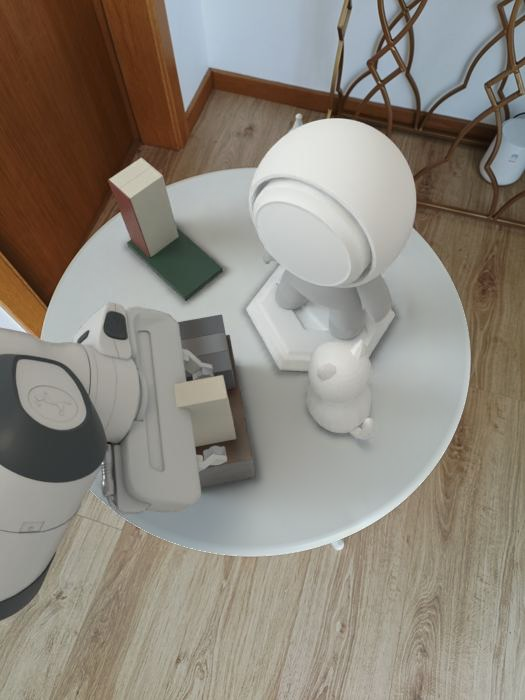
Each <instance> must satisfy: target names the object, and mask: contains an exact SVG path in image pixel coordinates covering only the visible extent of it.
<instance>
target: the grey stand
mask: <svg viewBox="0 0 525 700" xmlns="http://www.w3.org/2000/svg"><path fill="white" fill-rule="evenodd" d="M177 322H178V324H179V329H180V337H181V345H182V349H186V350H189V351H190V352H191V353H192V354H193V355H194V356H196V357H197V358H198V359H199V360H200V361H201V362H202V363H207V364H211V365H212V368H213V375H214V377H215V376H220V375H223V377H224V382H225V386H226V391H227V395H228V399H229V404H230V408H231V413H232V417H233V422H234V428H235V434H236V439H234V440H228V441H223V442H218V443H213V444H208V445H203V446H197V447H195V449H196V455H202V456H203V459H204V455H203V451H204V450H206V449H209V448H210V447H212V446H219V447H222V446H224V447H225V450H226V455H227V461H226V462H224V463H222V464H220V465H209V466H208V467H207V468H205V469H203V470H201V471H199V479H200V486H201V489H203V488H208V487H213V486H218V485H223V484H228V483H233V482H238V481H243V480H248V479H249V480H250V479H253V478H256V471H255V465H254V464H255V463H254V458H253V452H252V447H251V442H250V437H249V431H248V425H247V420H246V415H245V409H244V405H243V404H244V403H243V398H242V393H241V388H240V382H239V377H238V372H237V367H236V361H235V355H234V350H233V346H232V340H231V335H230V334H226V329H225V323H224V317H223V314H216V315H210V316H205V317H199V318H194V319H188V320H182V321H177ZM185 375H186V382H188V381H193V376H192V374H191V373H189V372H188V371H186V370H185Z"/></svg>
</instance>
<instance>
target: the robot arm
mask: <svg viewBox="0 0 525 700" xmlns="http://www.w3.org/2000/svg"><path fill="white" fill-rule="evenodd" d="M178 322H179V321H177V320H176V319H175V318H174V317H173V316H172V315H171V314H169V313H167V312H163V311H160V310H157V309H153V308H149V307H141V306H129V307H127V308H125V307H124V306H122V305H121V304H119V303H116V302H111V301H109V302H106V303H105V304H103V305H102V306H101V307H100V308H98V309H97V310H96V311H95V312H94V313H93V314H92V315H90V317H88V319H87V320H86V321H85V322H84V323H83V324H82V325H81V326H80V328H79V329H78V330H77V331H76V333H75V334H74V337H73V339H72V341H64V342H52V341H47V340H43V339H41V338H39V337H37V336H35V335H33V334H31V333H29V332H26V331H25V332H24V331H22V330H21V331H20V330H15V329H12V328H5V327H1V326H0V622H1V621H3V620H6V619H8V618H10V617H12V616H14V615H15V614H17V613H19V612H20V611H21V610H23V609H24V608H25V607H26V606H27V605H29V604H30V603H31V602H32V601H33V599H34V598H35V597H36V596H37V595H38V593H39V592H40V590H41V588H42V587H43V584H44V582H45V580H46V577H47V575H48V573H49V570H50V568H51V566H52V563H53V561H54V559H55V557H56V554H57V551H58V548H59V546H60V544H61V543H62V541H63V540H64V538H65V536H66V535H67V532H68V530H69V529H70V527H71V525H72V523H73V522H74V520H75V518H76V516H77V515H78V513H79V511H80V509H81V508H82V504H83V502H84V500H85V499H86V497H87V495H88V493H89V492H90V490H91V488H92V486H93V484H94V482H95V480H96V478H97V476H98V475H99V472H101V481H100V487H101V488H100V492H101V494H102V498H106V500H107V503H108V505H109V506H110V508H111V509H112V510H113V511H114V512H115V513H117V514H121V515H139V514H142V513H144V512H146V511H147V512H148V511H149V512H154V513H155V512H156V513H169V514H172V513H179V512H182V511H184V510H188V509H189V508H191V507H193V506H194V505H195V504H196V503H197V502H198V501H199V500H200V498H201V496H202V488H201V486H200V479H199V471H201V470H203V469H205V468H207V467H208V466H209V465H220V464H222V463H224V462H226V461H227V455H226V450H225V447H224V446H222V447H219V446H212V447H210V448H209V449H206V450H204V451H203V455H204V459H203V456H202V455H196V449H195V442H194V434H193V427H192V419H191V412H190V409H186V408H178V407H177V405H176V397H175V389H174V384H177V383H183V382H186V375H185V370H186V371H188V372H189V373H191V374H192V376H193V380H199V379H204V378H210V377H214V375H213V368H212V365H211V364H207V363H202V362H201V361H200V360H199V359H198V358H197V357H196V356H194V355H193V354H192V353H191V352H190V351H189V350H186V349H182V345H181V337H180V329H179V324H178Z"/></svg>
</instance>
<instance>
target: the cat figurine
mask: <svg viewBox="0 0 525 700" xmlns="http://www.w3.org/2000/svg"><path fill="white" fill-rule="evenodd" d="M372 370H373V368H372V363H371V360H370V357H369V358H368V356H367V355H366V345H365V342H364V341H362V340H360V341H358V342H357V343H356V344H355V345H354V344H351V343H348V342H338V341H330V342H326V343H323V344H321V345H320V346H318V347H317V348H316V349H315V351H314V352H313V354H312V356H311V359H310V364H309V371H308V372H307V374H308V375H307V377H308V382H309V384H308V385H307V388H306V393H305V403H306V407H307V410H308V413H309V414H310V415H311V417H312V419H313V420H314V421H315V422H316V423H317V424H318V425H319V426H321V427H322V428H324V429H325V430H327V431H329V432H331V433H336V434H347V433H349V434H350V435H351V436H352V437H353V438H355V439H357V440H367V439H369V438H371V437H372V436H373V435H374V432H375V430H376V425H375V421H374V420H373V419H372V417H369V416H370V413H371V406H372V399H373V396H372V390H371V386H370V380H371V377H372ZM360 425H362V427H360Z"/></svg>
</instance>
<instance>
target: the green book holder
mask: <svg viewBox="0 0 525 700" xmlns="http://www.w3.org/2000/svg"><path fill="white" fill-rule="evenodd" d="M107 183H108V184H109V187H110V190H111V192H112V194H113V197H114V200H115V203H116V205H117V207H118V210H119V212H120V215H121V218H122V220H123V223H124V225H125V228H126V230H127V233H128V236H129V238H130V239H129V240H128V241H127V242H126V245H127V247H128V248H129V249H130V250H131V251H132V252H133V253H134V254H135V255H137V256H138V258H140V259H141V260H142V261H143V262H144V263H145V264H146V265H147V266H148V267H149V268H150V269H151V270H152V271H153V272H154V273H156V274H157V275H158V276H159V277H160V278H161V279H162V280H163V281H164V282H165V283H166V284H167V285H168V286H169V287H170V288H172V289H173V291H174V292H176V293H177V294H178V296H180V297H181V298H182V299H183V300H184V301H185V302H186V301H188V300H189V299H190V298H191V297H192V296H194V295H195V294H196V293H197V292H199V291H200V290H201V289H203V288H204V287H205V286H206V285H208V284H209V283H210V282H211V281H212V280H214V279H215V278H217V277H218V276H219V275H220V274H221V273H222V272H223V271H224V270H223V269H224V268H223V267H222V266H221V265H220V264H219V263H217V262H216V261H215V260H214V259H213V258H212V257H211V256H210V255H208V254H207V253H206V252H205V251H204V250H203V249H202V248H201V247H200V246H199V245H197V244H196V243H195V242H194V241H192V240H191V238H190V237H188V236H187V235H186V234H185V233H184V232H182V231H181V230H180V229H179V228H178V227H177V225H176V221H175V217H174V213H173V209H172V206H171V202H170V198H169V193H168V190H167V187H166V182H165V178H164V175H163V174H162V173H160V172H159V171H158V170H157V169H156V168H155V167H154V166H152V165H151V164H150V163H148V162H147V161H146V160H145V159H144V158H143V157H139V159H137V160H136V161H134V162H132V163H131V164H129V165H128V166H126V167H125V168H124V169H122V170H120V171H119V172H117V173H116V174H114V175H113V176H112V177H110V178H109V179H107Z"/></svg>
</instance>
